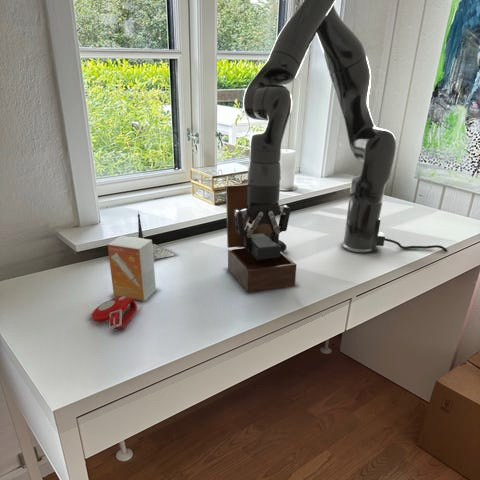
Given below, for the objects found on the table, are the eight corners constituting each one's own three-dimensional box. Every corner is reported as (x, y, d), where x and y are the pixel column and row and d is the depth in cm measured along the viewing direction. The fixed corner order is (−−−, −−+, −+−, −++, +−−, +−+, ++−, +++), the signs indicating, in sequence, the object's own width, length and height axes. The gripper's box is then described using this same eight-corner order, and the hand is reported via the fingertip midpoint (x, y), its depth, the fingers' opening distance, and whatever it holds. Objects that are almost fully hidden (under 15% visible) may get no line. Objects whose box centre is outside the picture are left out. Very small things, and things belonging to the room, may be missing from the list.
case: (294, 285, 117) (296, 264, 114) (247, 293, 113) (248, 271, 110) (271, 263, 128) (272, 243, 126) (227, 269, 125) (227, 249, 122)
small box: (113, 296, 110) (106, 244, 104) (126, 285, 115) (120, 234, 109) (144, 301, 108) (139, 248, 102) (156, 290, 113) (152, 238, 107)
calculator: (280, 257, 114) (280, 245, 113) (257, 260, 112) (257, 248, 111) (264, 243, 122) (264, 232, 121) (242, 245, 120) (242, 234, 119)
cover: (274, 182, 118) (272, 182, 119) (226, 186, 114) (225, 185, 115) (273, 242, 125) (271, 241, 126) (228, 247, 121) (227, 247, 122)
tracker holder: (80, 313, 101) (116, 288, 106) (90, 329, 103) (124, 304, 108) (110, 321, 92) (147, 293, 98) (120, 339, 95) (155, 311, 100)
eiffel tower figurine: (154, 245, 139) (151, 200, 132) (175, 255, 133) (172, 208, 126) (109, 258, 130) (102, 210, 123) (128, 269, 124) (123, 220, 117)
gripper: (285, 175, 114) (281, 241, 122) (229, 179, 109) (228, 247, 118) (299, 182, 108) (293, 251, 116) (240, 187, 103) (238, 258, 112)
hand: (260, 248), depth 117 cm, fingers closed on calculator, 6 cm apart
